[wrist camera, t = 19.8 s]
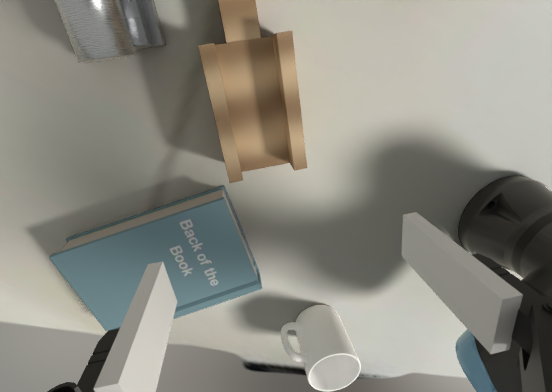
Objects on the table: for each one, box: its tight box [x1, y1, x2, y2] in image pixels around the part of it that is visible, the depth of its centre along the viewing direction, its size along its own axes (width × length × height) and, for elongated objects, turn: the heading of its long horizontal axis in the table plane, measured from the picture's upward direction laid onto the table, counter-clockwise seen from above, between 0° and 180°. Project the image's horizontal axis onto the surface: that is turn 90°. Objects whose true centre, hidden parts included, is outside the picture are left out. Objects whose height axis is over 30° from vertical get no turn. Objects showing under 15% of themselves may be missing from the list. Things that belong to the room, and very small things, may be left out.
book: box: [49, 186, 262, 331], centre depth 43 cm, size 23×16×5 cm
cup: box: [281, 305, 361, 391], centre depth 49 cm, size 8×12×10 cm
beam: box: [198, 0, 307, 183], centre depth 33 cm, size 20×9×7 cm, turn 8°
